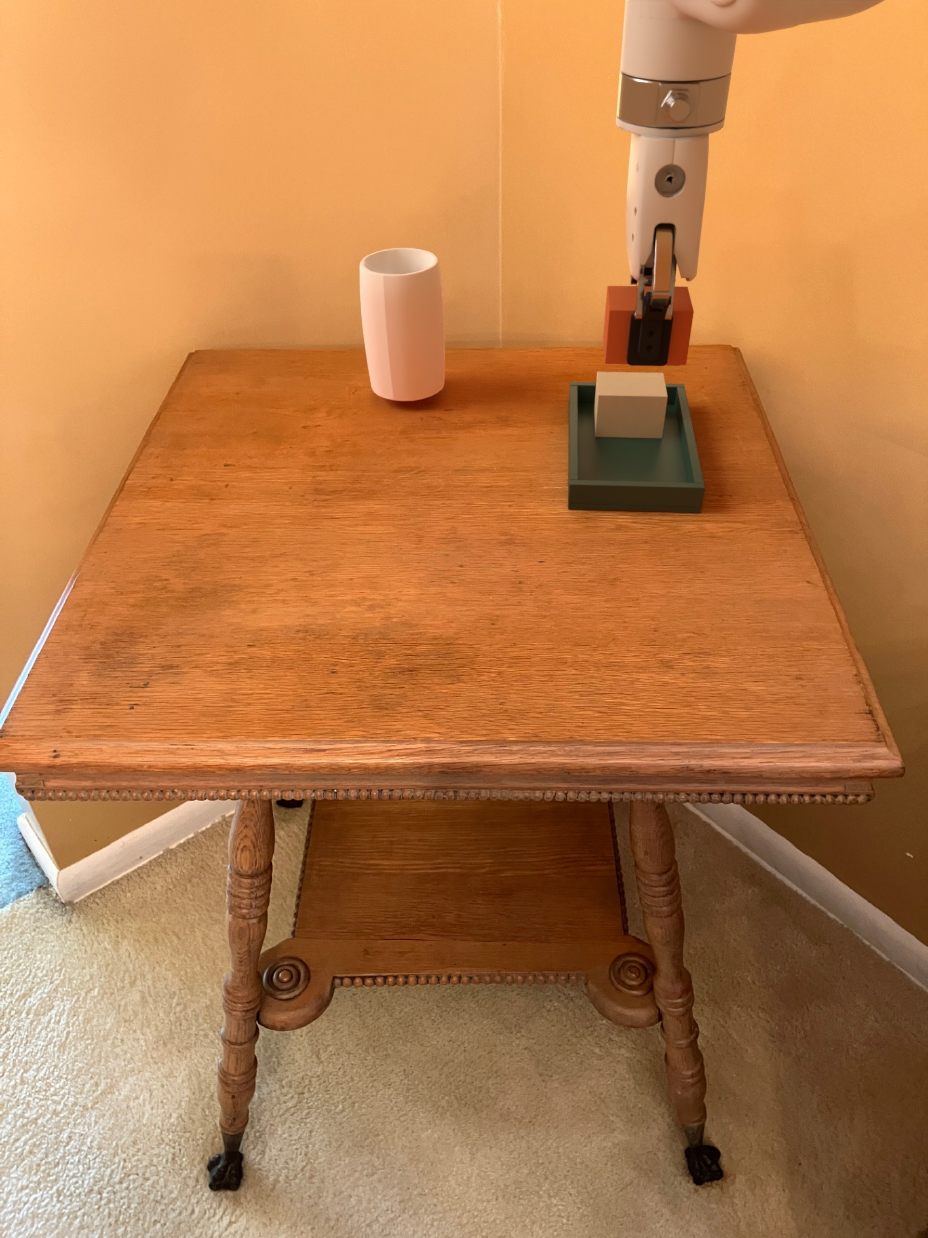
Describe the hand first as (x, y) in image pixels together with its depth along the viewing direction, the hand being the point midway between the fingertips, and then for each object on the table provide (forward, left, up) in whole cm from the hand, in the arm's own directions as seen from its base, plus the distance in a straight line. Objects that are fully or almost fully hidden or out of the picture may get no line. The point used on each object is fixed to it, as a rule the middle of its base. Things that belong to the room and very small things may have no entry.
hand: (644, 346), depth 76 cm
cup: (+28, +5, -13) cm, 31 cm away
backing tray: (+4, -4, -13) cm, 14 cm away
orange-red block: (0, 0, 0) cm, 0 cm away
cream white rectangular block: (+7, -7, -13) cm, 16 cm away
